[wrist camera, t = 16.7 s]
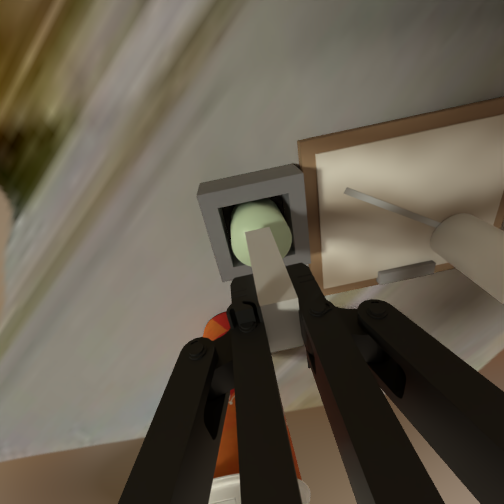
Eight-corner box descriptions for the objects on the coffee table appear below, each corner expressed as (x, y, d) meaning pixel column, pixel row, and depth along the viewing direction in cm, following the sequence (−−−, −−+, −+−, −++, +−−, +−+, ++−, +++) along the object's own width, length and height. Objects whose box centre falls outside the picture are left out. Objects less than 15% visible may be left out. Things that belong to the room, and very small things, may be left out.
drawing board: (297, 140, 19) (302, 143, 18) (532, 90, 19) (555, 89, 17) (311, 292, 26) (315, 302, 25) (482, 256, 26) (496, 264, 24)
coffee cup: (288, 322, 27) (348, 520, 14) (242, 368, 30) (257, 568, 17) (220, 287, 24) (219, 497, 11) (176, 342, 27) (134, 560, 14)
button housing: (199, 183, 20) (196, 195, 17) (292, 163, 20) (303, 172, 17) (222, 261, 23) (222, 282, 21) (301, 245, 23) (311, 263, 20)
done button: (224, 201, 20) (225, 221, 16) (277, 190, 20) (288, 207, 16) (236, 247, 22) (238, 273, 18) (283, 237, 22) (294, 261, 18)
